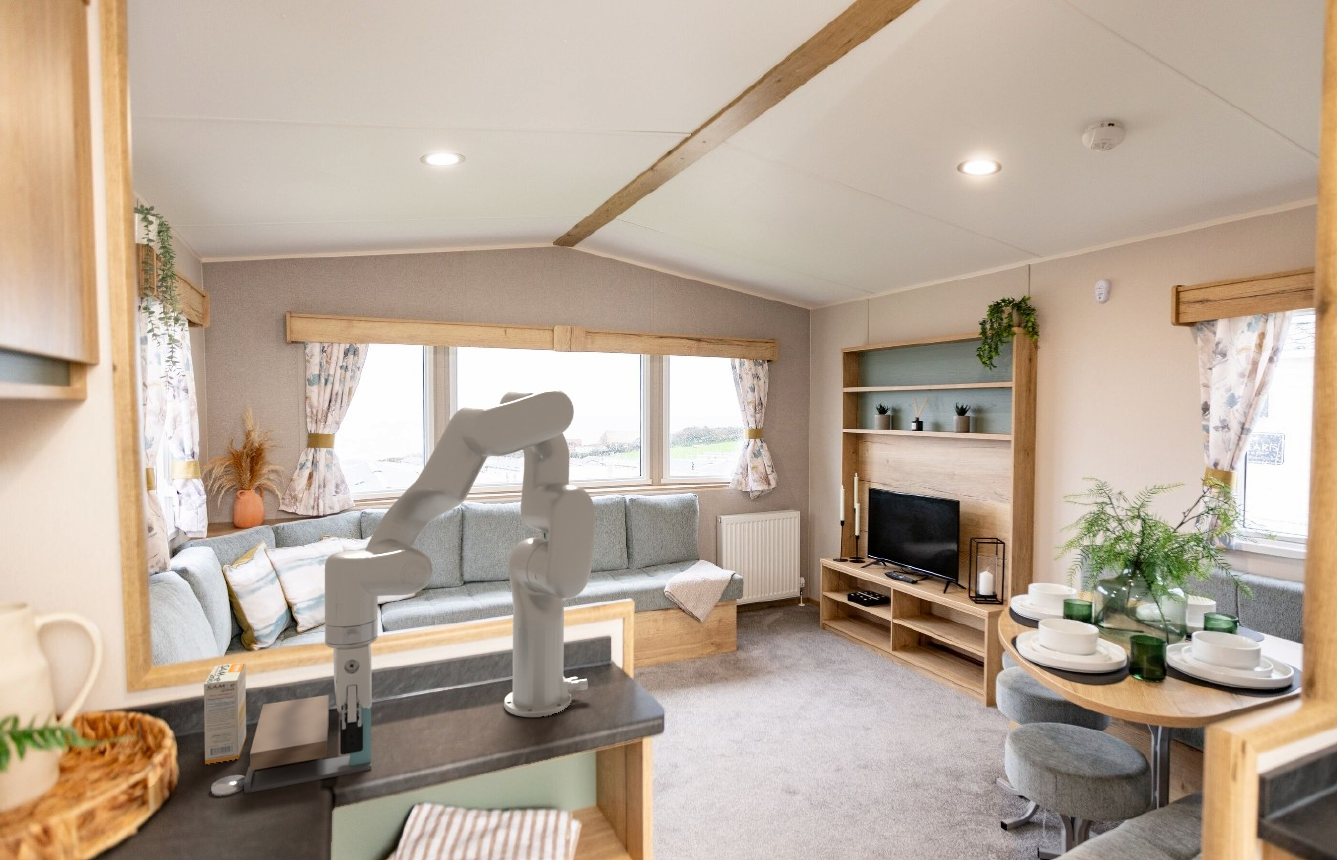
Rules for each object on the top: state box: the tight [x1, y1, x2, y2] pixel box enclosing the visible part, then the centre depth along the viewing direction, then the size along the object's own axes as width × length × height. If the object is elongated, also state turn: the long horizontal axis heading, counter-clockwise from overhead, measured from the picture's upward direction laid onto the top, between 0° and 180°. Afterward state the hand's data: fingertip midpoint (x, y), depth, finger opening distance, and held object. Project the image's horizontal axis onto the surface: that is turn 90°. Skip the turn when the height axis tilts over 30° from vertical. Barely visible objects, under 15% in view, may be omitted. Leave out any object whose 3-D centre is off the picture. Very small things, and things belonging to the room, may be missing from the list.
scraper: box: [243, 704, 372, 794], centre depth 108 cm, size 17×5×10 cm, turn 115°
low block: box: [249, 694, 330, 770], centre depth 113 cm, size 10×18×6 cm, turn 25°
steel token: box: [210, 774, 246, 797], centre depth 104 cm, size 4×4×1 cm
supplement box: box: [203, 662, 247, 765], centre depth 114 cm, size 8×5×13 cm, turn 23°
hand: (351, 746), depth 110 cm, fingers closed on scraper
